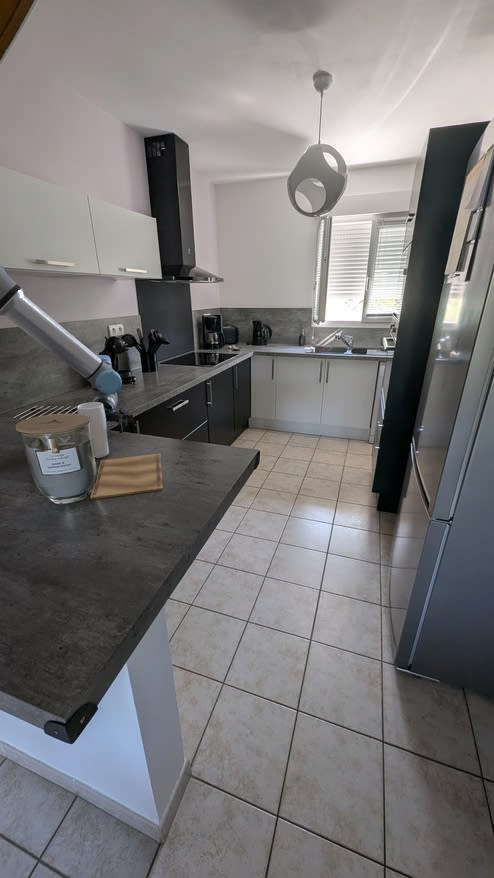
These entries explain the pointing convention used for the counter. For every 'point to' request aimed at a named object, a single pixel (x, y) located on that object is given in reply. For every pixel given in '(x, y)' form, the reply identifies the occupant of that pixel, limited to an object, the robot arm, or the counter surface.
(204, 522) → the counter surface
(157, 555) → the counter surface
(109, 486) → the wooden cutting board
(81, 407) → the drinking glass
